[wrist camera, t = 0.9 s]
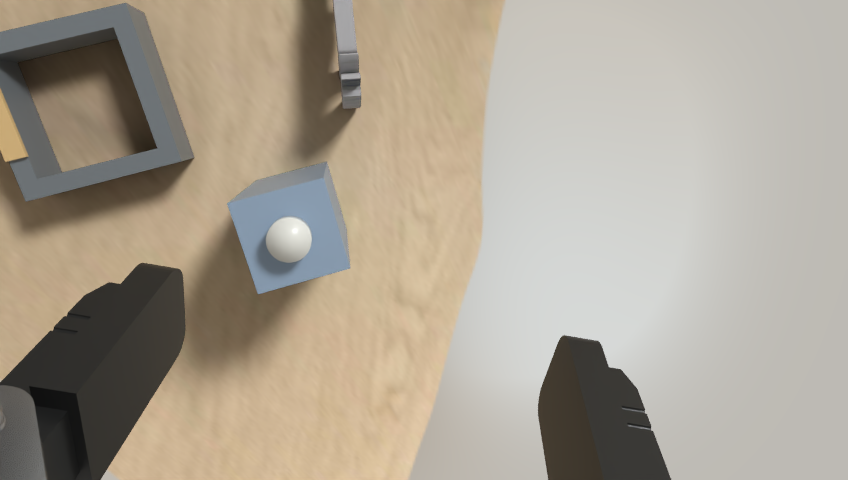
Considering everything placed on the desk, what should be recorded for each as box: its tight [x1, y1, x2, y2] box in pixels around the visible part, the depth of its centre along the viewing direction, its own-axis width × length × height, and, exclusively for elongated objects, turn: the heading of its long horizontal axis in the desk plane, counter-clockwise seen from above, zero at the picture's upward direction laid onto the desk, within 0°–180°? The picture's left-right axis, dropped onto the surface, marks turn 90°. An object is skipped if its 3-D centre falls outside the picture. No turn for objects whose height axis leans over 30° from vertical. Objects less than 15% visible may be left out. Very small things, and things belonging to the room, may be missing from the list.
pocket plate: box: [0, 3, 194, 202], centre depth 32 cm, size 8×8×3 cm
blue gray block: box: [227, 162, 350, 294], centre depth 31 cm, size 4×4×11 cm
